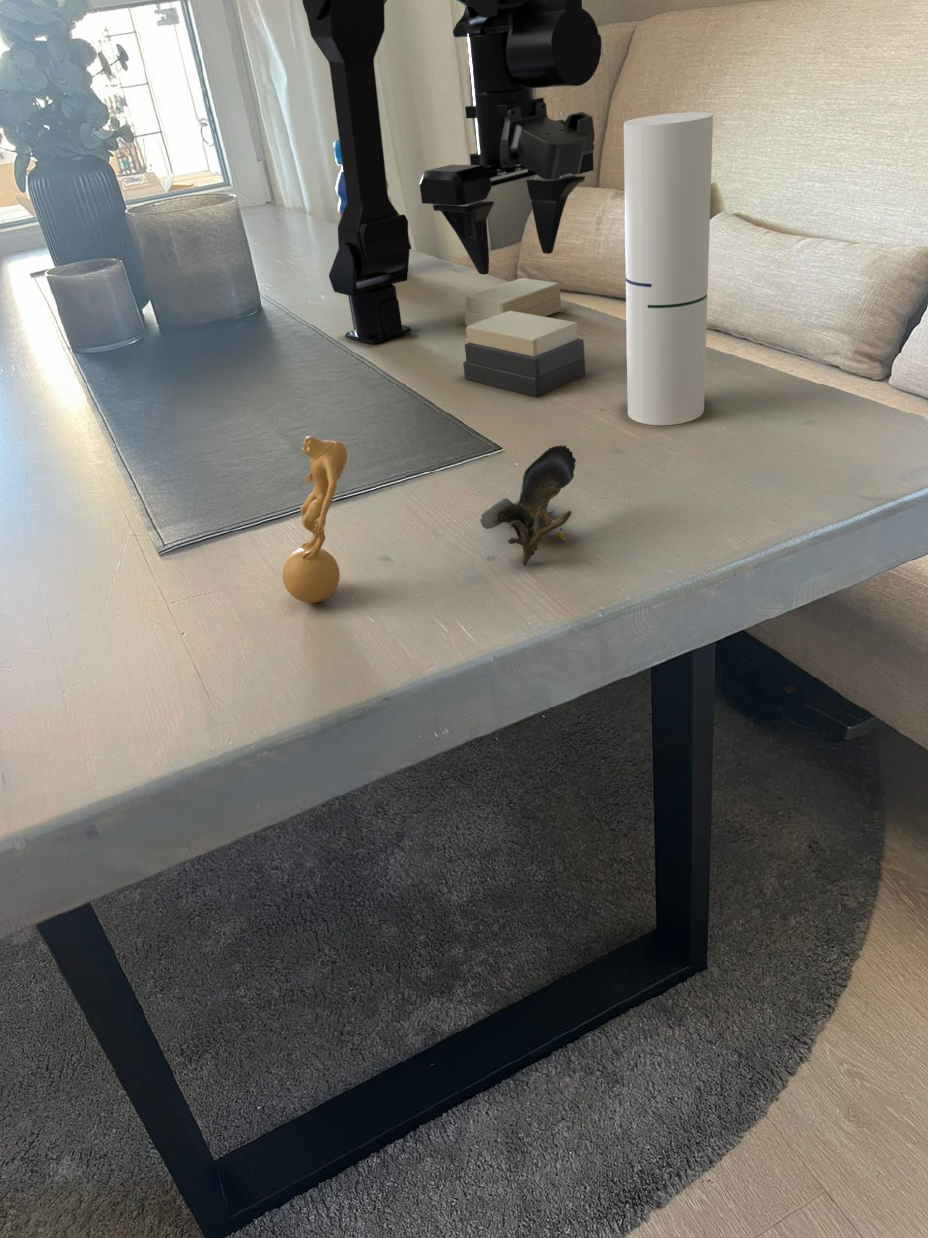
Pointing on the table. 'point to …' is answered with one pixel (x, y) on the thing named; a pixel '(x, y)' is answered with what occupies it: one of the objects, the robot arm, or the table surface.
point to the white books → (514, 300)
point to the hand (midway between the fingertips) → (516, 263)
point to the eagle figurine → (535, 501)
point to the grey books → (525, 368)
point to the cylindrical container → (667, 264)
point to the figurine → (316, 526)
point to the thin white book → (522, 333)
